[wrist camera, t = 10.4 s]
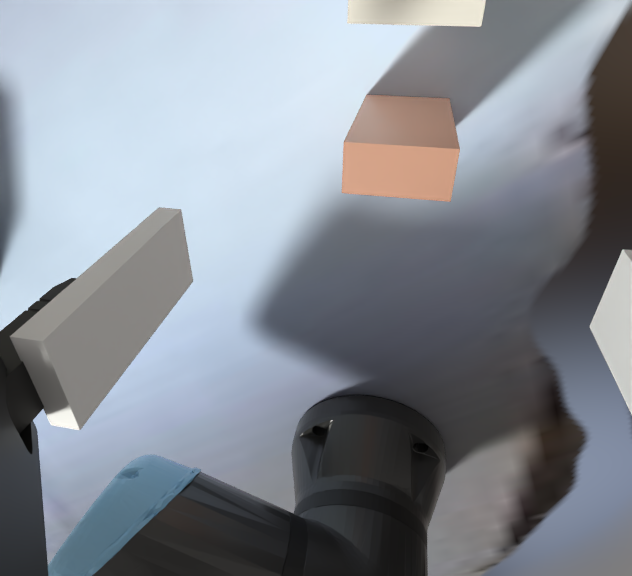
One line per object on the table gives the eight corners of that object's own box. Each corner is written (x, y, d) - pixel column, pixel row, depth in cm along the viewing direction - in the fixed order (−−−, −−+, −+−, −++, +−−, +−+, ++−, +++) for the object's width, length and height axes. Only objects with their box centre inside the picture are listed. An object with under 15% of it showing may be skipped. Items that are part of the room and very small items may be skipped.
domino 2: (443, 138, 29) (450, 201, 21) (364, 133, 30) (341, 193, 22) (449, 98, 28) (459, 149, 20) (366, 94, 29) (343, 142, 20)
